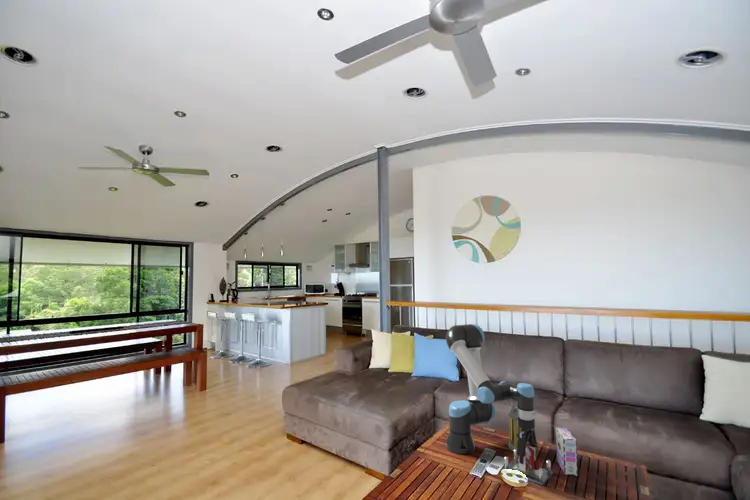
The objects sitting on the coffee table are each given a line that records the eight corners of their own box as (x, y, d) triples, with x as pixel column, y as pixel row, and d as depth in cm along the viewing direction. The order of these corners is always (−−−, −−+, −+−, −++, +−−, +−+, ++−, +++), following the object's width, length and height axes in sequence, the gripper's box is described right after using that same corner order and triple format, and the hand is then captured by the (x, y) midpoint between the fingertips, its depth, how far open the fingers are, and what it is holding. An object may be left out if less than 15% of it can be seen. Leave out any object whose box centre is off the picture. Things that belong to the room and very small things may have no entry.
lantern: (527, 441, 206) (525, 395, 208) (541, 453, 192) (540, 404, 194) (503, 442, 204) (502, 396, 206) (516, 455, 190) (515, 405, 192)
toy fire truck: (529, 460, 180) (528, 438, 181) (541, 473, 168) (540, 450, 168) (515, 460, 180) (514, 438, 181) (526, 473, 167) (525, 450, 168)
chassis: (503, 470, 175) (503, 457, 175) (514, 460, 184) (514, 448, 185) (542, 485, 163) (542, 471, 163) (552, 474, 172) (552, 460, 172)
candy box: (578, 476, 170) (576, 439, 171) (564, 475, 171) (563, 438, 172) (568, 461, 184) (567, 427, 185) (556, 460, 185) (554, 426, 186)
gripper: (524, 427, 164) (525, 478, 163) (543, 413, 181) (544, 459, 180) (507, 422, 169) (509, 472, 168) (527, 409, 186) (529, 454, 185)
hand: (527, 465), depth 174 cm, fingers closed on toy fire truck, 11 cm apart
